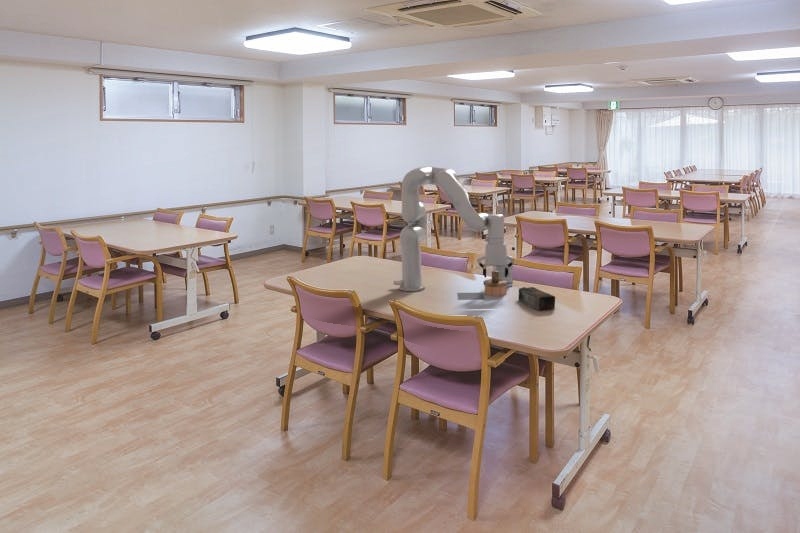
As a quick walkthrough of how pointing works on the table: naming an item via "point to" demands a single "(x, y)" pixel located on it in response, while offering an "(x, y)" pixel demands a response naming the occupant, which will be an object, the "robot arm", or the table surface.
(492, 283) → the lid
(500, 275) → the supplement tub
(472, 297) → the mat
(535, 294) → the beverage carton
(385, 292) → the table surface
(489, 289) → the bowl
